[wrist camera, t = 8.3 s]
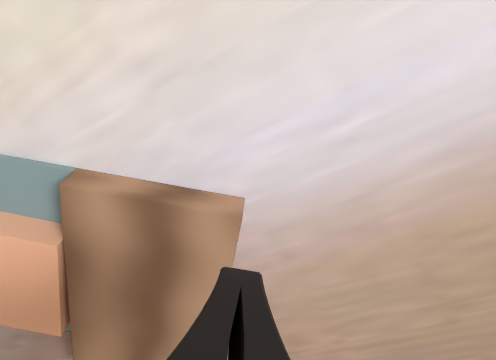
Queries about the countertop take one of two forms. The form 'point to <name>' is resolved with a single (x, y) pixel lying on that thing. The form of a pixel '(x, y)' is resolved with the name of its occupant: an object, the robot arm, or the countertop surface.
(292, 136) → the countertop surface
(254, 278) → the robot arm
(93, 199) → the deck
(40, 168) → the mat
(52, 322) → the tile
